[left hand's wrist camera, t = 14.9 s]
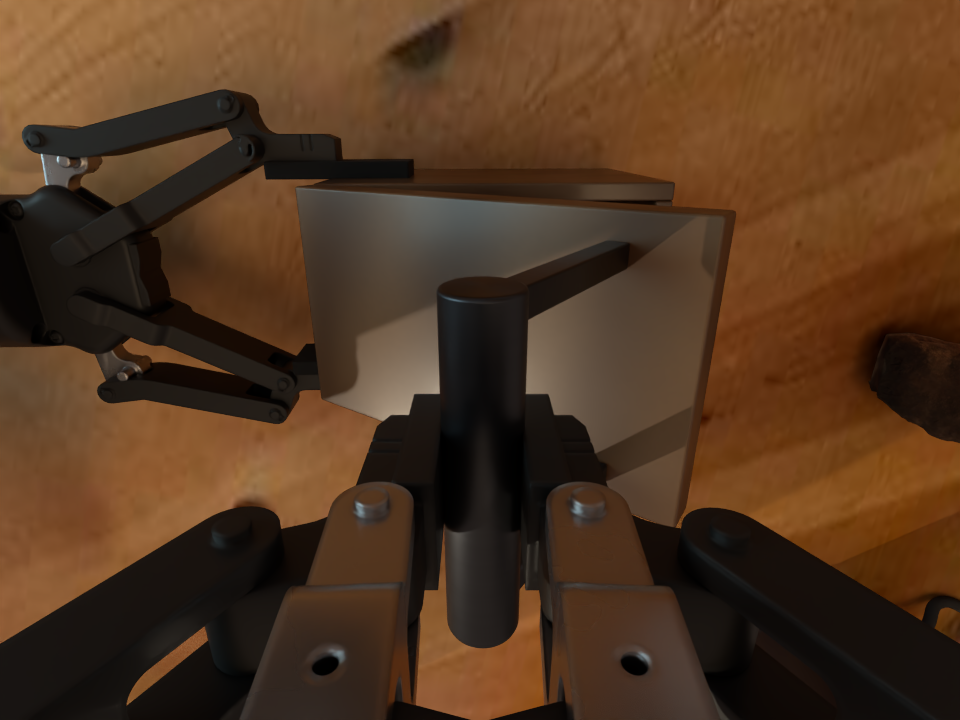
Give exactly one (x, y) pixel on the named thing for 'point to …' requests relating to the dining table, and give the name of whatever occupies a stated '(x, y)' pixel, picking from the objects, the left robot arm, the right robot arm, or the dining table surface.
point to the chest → (531, 184)
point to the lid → (518, 348)
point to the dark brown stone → (921, 382)
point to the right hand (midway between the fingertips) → (415, 269)
